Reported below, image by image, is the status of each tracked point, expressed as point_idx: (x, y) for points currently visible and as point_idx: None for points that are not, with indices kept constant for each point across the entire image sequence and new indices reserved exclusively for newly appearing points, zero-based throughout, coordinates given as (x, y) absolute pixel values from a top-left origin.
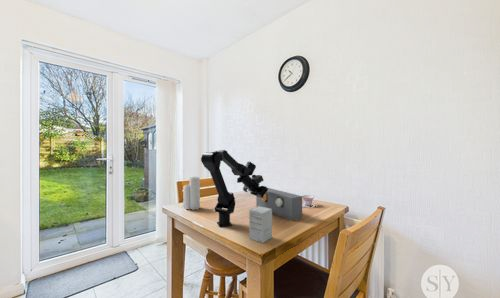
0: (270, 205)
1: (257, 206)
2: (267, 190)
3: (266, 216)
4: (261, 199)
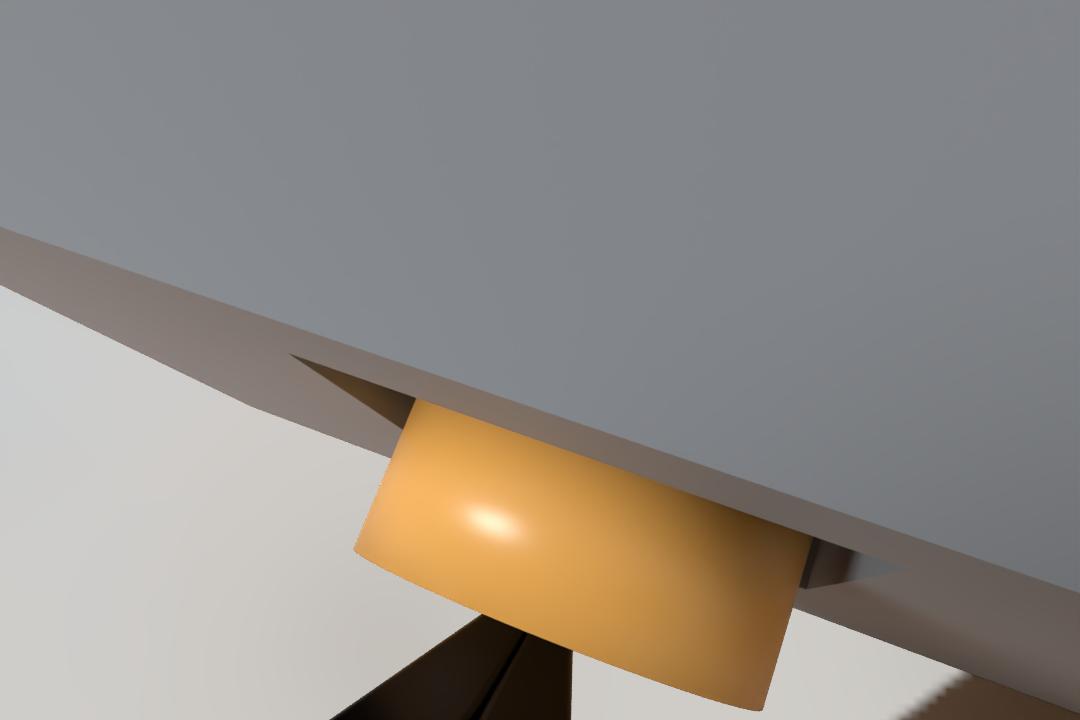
0: (993, 665)
1: (289, 419)
2: (645, 125)
3: None
4: (379, 432)
